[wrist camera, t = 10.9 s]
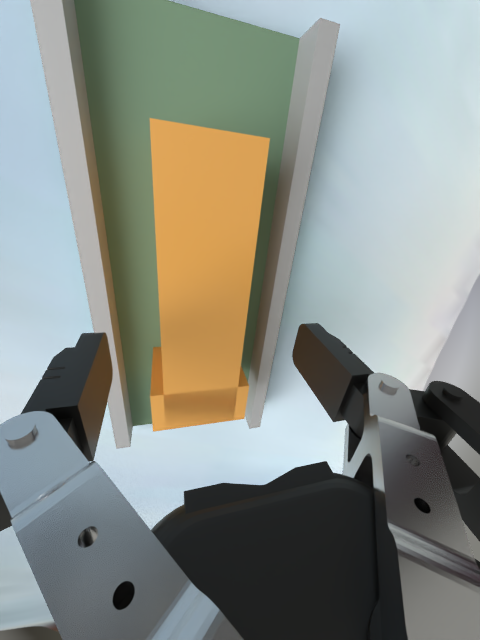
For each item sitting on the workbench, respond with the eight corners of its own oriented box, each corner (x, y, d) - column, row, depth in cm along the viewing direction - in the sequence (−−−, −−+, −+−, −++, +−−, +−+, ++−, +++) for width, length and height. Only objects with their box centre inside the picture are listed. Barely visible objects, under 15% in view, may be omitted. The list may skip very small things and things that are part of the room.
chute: (138, 133, 13) (126, 113, 9) (251, 150, 15) (287, 141, 10) (155, 378, 20) (153, 431, 16) (228, 372, 22) (244, 418, 18)
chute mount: (35, -24, 11) (-5, -87, 8) (316, 53, 14) (349, 27, 11) (115, 419, 23) (109, 449, 20) (255, 401, 26) (264, 426, 24)
